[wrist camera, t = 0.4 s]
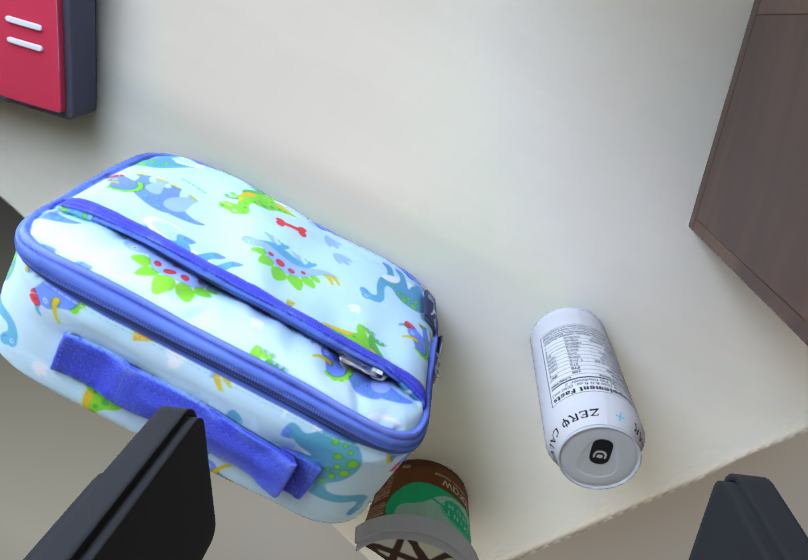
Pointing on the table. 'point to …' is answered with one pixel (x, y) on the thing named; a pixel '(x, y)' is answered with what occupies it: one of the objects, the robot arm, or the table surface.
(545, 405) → the energy drink can
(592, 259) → the table surface
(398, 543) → the food container
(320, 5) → the table surface
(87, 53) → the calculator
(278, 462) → the lunch box
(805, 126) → the chest
